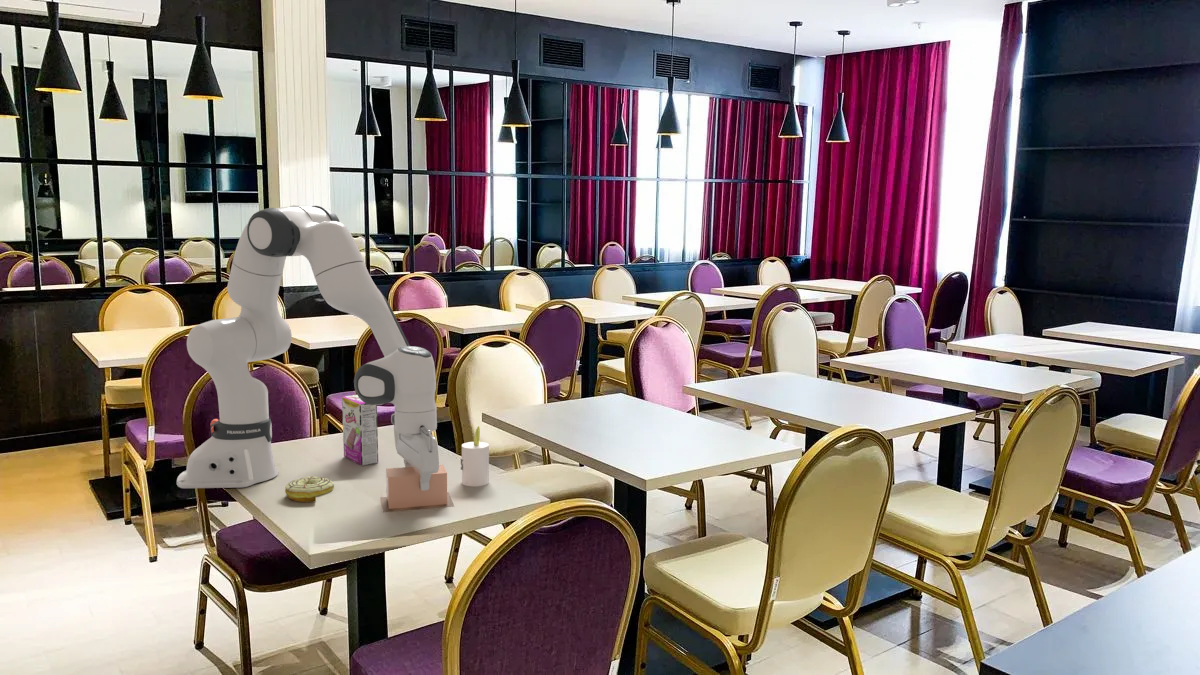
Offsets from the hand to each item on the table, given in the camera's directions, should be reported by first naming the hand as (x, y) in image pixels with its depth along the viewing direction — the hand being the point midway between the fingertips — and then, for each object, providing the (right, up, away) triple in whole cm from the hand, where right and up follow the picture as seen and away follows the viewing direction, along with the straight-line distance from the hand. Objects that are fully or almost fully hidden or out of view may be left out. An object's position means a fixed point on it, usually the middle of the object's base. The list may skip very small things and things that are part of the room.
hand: (417, 483), depth 194 cm
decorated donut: (-26, -5, +9) cm, 28 cm away
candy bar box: (-23, 0, +38) cm, 44 cm away
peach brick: (0, -4, +1) cm, 4 cm away
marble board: (0, -6, +1) cm, 6 cm away
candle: (+10, -4, +16) cm, 19 cm away
